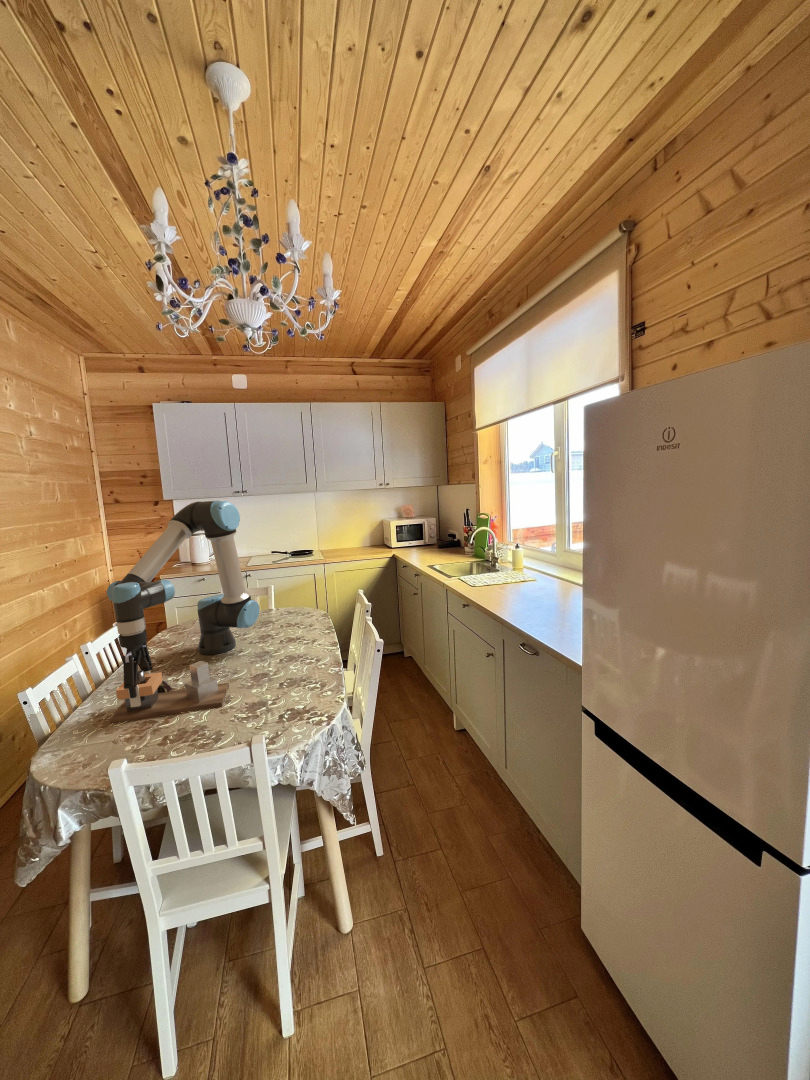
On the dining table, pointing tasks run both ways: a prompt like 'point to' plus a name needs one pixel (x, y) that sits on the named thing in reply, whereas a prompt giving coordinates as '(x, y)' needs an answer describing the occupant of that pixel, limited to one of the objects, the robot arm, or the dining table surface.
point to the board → (171, 705)
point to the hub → (201, 683)
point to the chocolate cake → (164, 687)
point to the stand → (145, 700)
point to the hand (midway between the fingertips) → (142, 697)
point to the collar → (142, 686)
